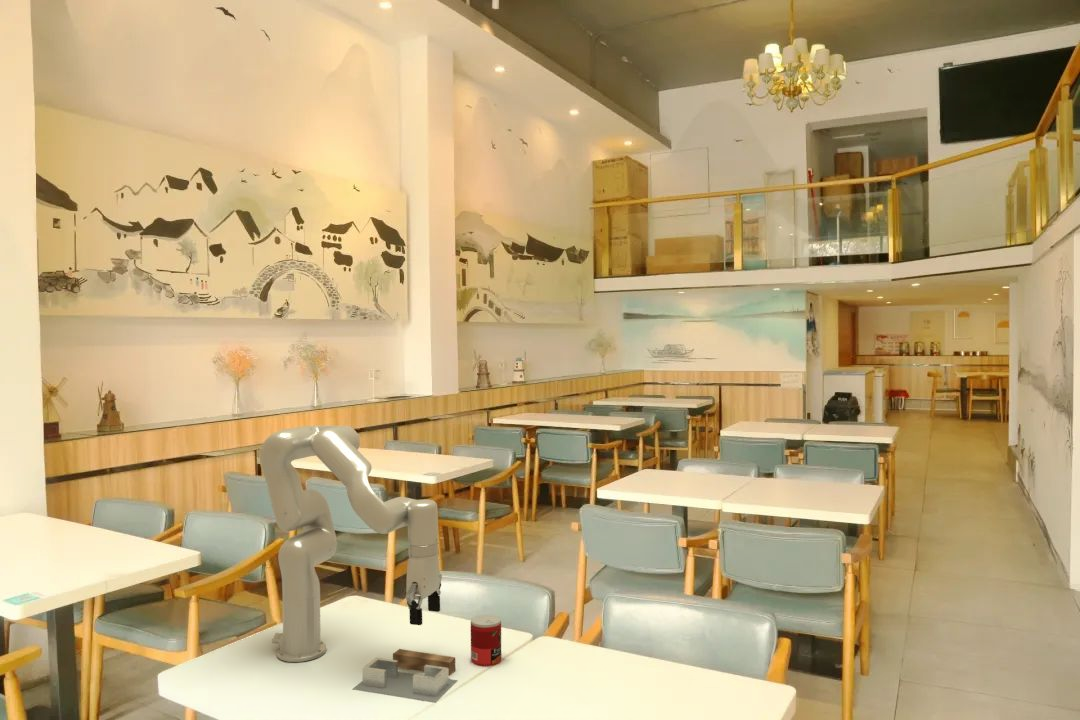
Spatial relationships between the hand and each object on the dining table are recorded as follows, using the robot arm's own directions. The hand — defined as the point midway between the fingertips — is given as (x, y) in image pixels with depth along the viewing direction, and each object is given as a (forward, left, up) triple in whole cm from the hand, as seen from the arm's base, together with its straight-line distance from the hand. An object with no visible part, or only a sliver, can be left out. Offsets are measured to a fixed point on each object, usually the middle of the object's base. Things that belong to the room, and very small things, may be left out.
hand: (425, 617), depth 187 cm
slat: (-1, 0, -14) cm, 14 cm away
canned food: (+12, +9, -14) cm, 21 cm away
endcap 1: (-7, -10, -13) cm, 18 cm away
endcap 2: (+6, -10, -13) cm, 17 cm away
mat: (-1, -10, -13) cm, 16 cm away
